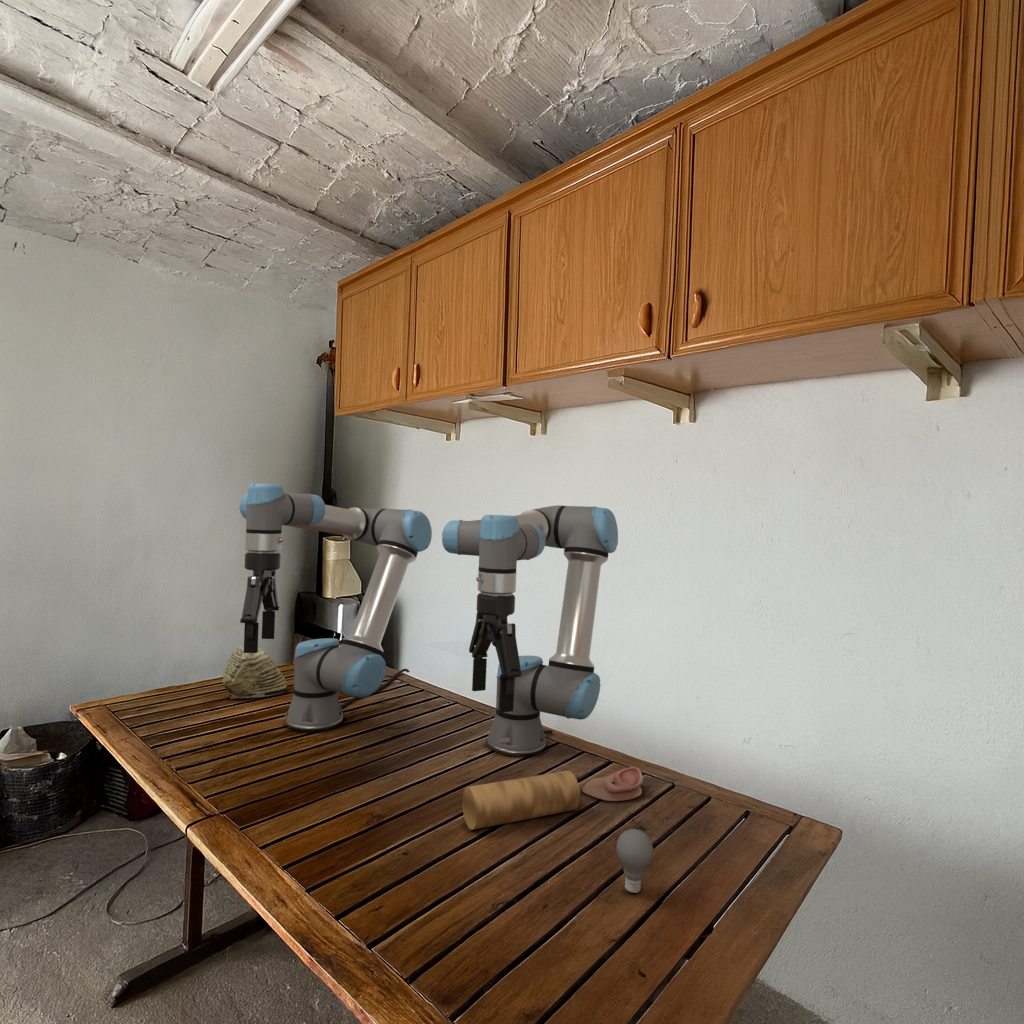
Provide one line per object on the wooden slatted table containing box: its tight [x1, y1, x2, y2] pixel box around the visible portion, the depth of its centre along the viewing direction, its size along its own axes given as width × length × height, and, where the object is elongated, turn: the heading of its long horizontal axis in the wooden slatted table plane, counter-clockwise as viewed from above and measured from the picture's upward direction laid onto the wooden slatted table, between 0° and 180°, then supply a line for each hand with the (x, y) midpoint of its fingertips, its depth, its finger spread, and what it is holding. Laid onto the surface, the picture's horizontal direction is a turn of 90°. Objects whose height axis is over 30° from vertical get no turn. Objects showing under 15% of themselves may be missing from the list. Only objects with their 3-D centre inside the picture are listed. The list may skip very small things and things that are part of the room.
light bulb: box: [615, 828, 654, 894], centre depth 106 cm, size 6×6×10 cm
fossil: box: [222, 646, 288, 699], centre depth 198 cm, size 9×18×15 cm, turn 132°
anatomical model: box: [581, 766, 644, 802], centre depth 142 cm, size 13×4×12 cm
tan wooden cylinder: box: [461, 770, 581, 831], centre depth 129 cm, size 23×8×8 cm, turn 115°
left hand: (259, 645), depth 143 cm, fingers open, 13 cm apart
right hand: (491, 700), depth 125 cm, fingers open, 13 cm apart
